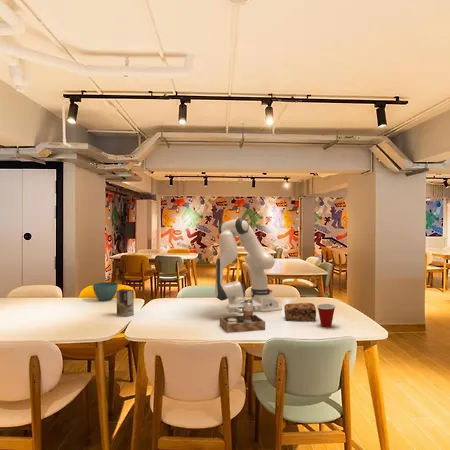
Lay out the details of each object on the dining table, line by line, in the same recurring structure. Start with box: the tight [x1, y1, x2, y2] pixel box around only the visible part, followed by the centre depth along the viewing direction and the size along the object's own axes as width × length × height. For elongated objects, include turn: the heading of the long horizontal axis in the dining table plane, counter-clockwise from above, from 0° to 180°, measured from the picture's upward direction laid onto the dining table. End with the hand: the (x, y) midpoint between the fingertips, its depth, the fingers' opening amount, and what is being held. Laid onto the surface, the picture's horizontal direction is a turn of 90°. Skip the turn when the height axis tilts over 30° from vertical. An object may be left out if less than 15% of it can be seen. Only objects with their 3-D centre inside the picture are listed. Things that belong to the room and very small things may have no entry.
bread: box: [284, 302, 317, 322], centre depth 235 cm, size 19×11×10 cm, turn 85°
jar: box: [228, 318, 237, 324], centre depth 213 cm, size 5×5×6 cm
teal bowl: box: [92, 281, 119, 302], centre depth 289 cm, size 18×18×12 cm
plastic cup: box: [316, 303, 336, 328], centre depth 220 cm, size 11×11×12 cm
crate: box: [219, 314, 266, 333], centre depth 217 cm, size 22×16×4 cm
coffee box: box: [116, 288, 135, 317], centre depth 243 cm, size 9×6×16 cm
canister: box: [242, 300, 254, 323], centre depth 219 cm, size 6×6×15 cm
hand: (248, 310), depth 218 cm, fingers open, 8 cm apart
